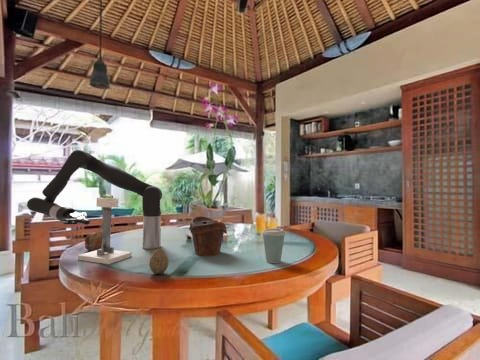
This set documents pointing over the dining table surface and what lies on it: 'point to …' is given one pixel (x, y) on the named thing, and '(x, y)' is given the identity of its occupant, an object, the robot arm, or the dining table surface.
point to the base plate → (105, 256)
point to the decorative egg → (158, 262)
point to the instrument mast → (106, 219)
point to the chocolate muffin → (207, 235)
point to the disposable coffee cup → (273, 244)
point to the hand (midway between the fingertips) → (88, 222)
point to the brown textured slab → (93, 241)
